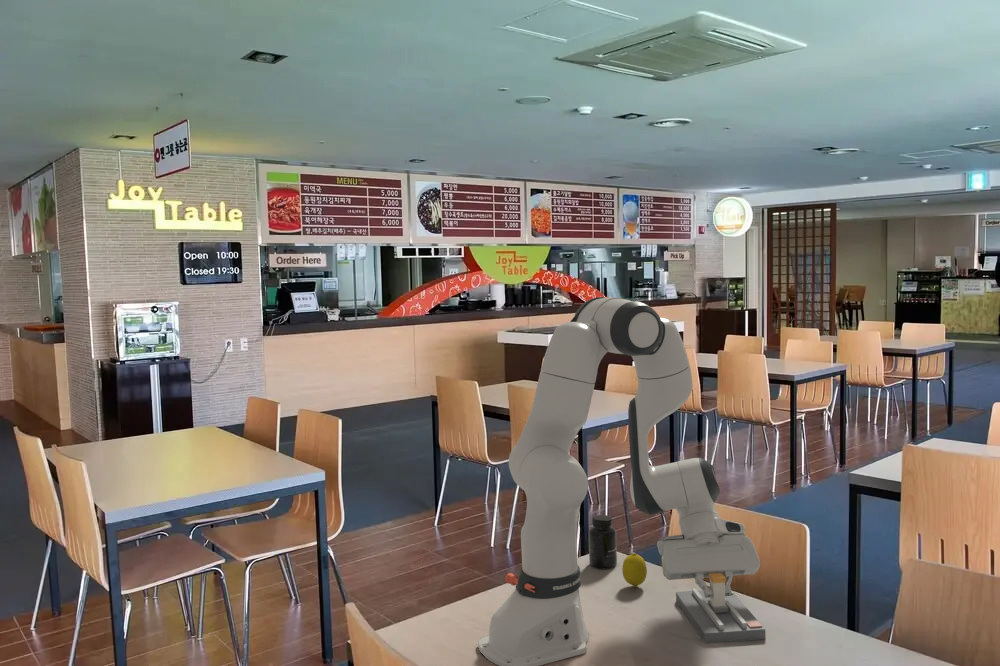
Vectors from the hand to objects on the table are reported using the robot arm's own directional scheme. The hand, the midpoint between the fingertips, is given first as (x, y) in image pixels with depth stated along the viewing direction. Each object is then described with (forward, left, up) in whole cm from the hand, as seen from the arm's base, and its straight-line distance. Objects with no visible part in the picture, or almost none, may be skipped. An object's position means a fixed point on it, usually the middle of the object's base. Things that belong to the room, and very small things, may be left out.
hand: (718, 595), depth 162 cm
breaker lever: (0, +1, -3) cm, 3 cm away
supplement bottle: (+3, +39, -5) cm, 39 cm away
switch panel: (0, +1, -5) cm, 5 cm away
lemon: (-1, +24, -5) cm, 24 cm away
